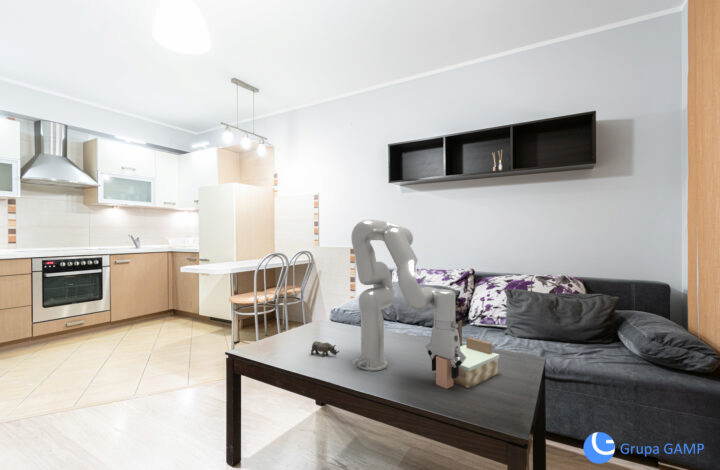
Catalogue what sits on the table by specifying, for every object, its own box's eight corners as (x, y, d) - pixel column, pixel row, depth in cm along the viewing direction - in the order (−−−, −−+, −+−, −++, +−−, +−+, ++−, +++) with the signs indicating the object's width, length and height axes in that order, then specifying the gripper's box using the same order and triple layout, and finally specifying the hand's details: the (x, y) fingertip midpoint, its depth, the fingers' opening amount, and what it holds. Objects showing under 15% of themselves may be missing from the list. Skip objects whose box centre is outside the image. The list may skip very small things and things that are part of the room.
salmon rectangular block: (446, 388, 113) (446, 359, 114) (436, 384, 117) (436, 356, 117) (453, 385, 116) (453, 357, 116) (442, 381, 119) (442, 353, 120)
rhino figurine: (337, 359, 141) (337, 345, 142) (309, 355, 146) (309, 341, 146) (341, 356, 145) (341, 342, 145) (313, 352, 150) (313, 339, 150)
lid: (468, 371, 113) (468, 356, 113) (433, 359, 125) (433, 345, 125) (499, 357, 126) (499, 344, 126) (465, 347, 138) (465, 335, 138)
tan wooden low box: (468, 388, 113) (468, 371, 114) (435, 375, 124) (435, 359, 124) (497, 373, 126) (497, 358, 126) (465, 363, 137) (465, 348, 137)
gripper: (472, 327, 112) (472, 379, 112) (431, 318, 126) (431, 364, 126) (459, 331, 108) (459, 385, 107) (418, 321, 121) (419, 369, 121)
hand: (444, 373), depth 116 cm, fingers open, 7 cm apart
